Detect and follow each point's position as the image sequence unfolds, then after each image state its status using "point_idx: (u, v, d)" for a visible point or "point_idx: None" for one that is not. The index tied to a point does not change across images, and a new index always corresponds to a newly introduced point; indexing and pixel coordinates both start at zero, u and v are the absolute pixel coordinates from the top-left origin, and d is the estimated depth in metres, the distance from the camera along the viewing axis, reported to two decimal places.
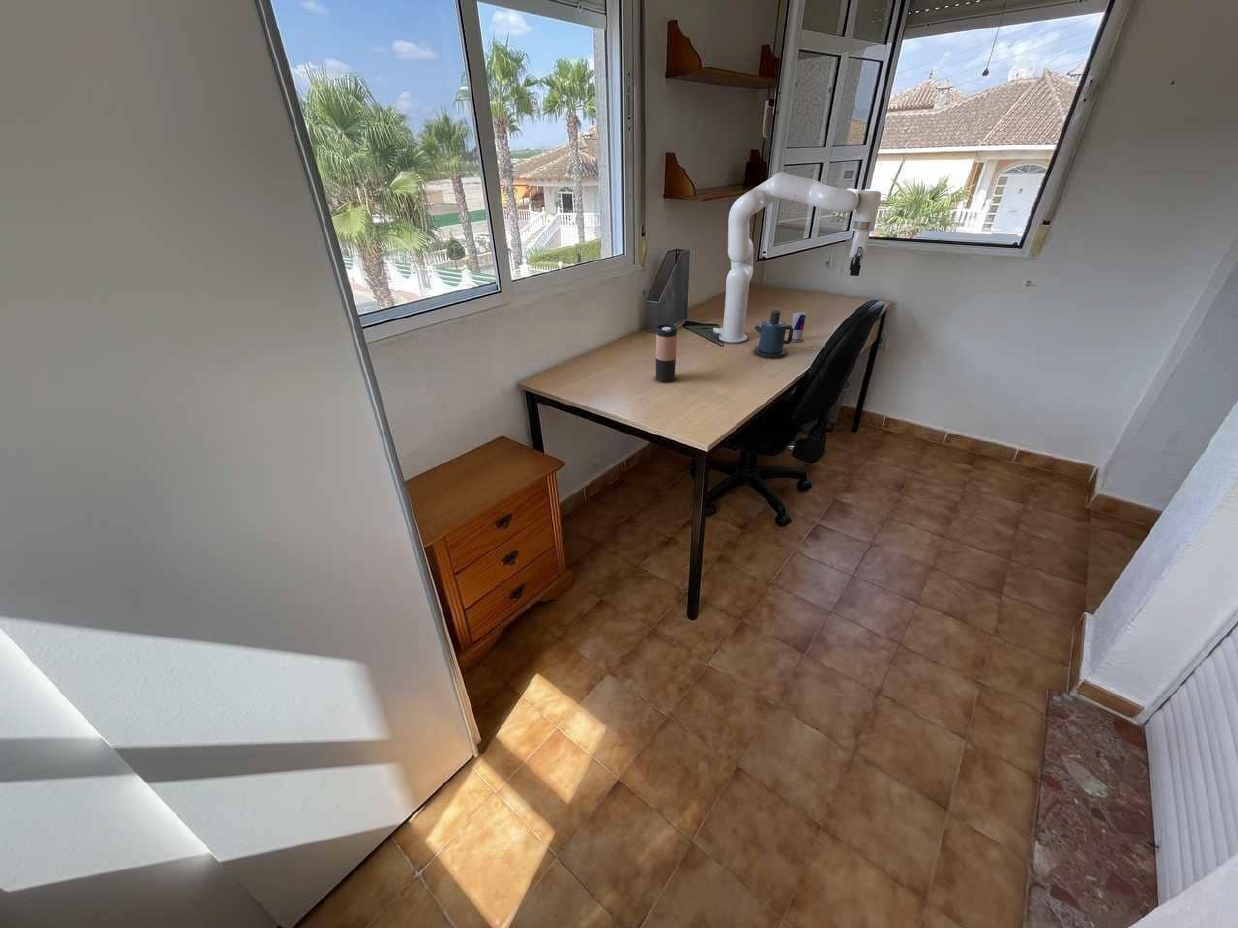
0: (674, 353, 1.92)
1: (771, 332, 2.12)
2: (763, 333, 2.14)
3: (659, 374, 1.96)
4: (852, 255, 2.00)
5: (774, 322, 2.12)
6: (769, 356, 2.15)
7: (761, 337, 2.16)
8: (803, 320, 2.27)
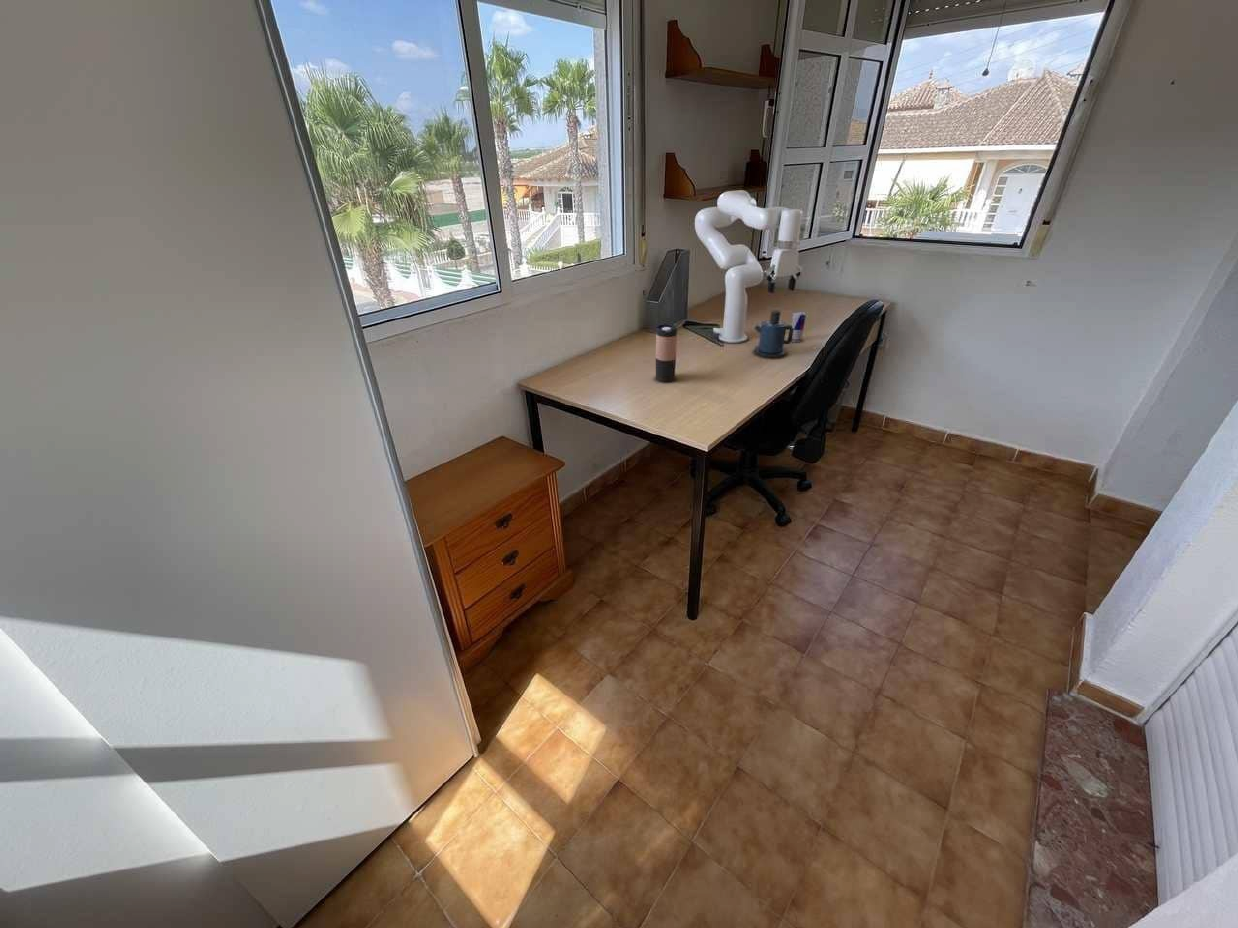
0: (674, 353, 1.92)
1: (771, 332, 2.12)
2: (763, 333, 2.14)
3: (659, 374, 1.96)
4: (769, 272, 2.04)
5: (774, 322, 2.12)
6: (769, 356, 2.15)
7: (761, 337, 2.16)
8: (803, 320, 2.27)
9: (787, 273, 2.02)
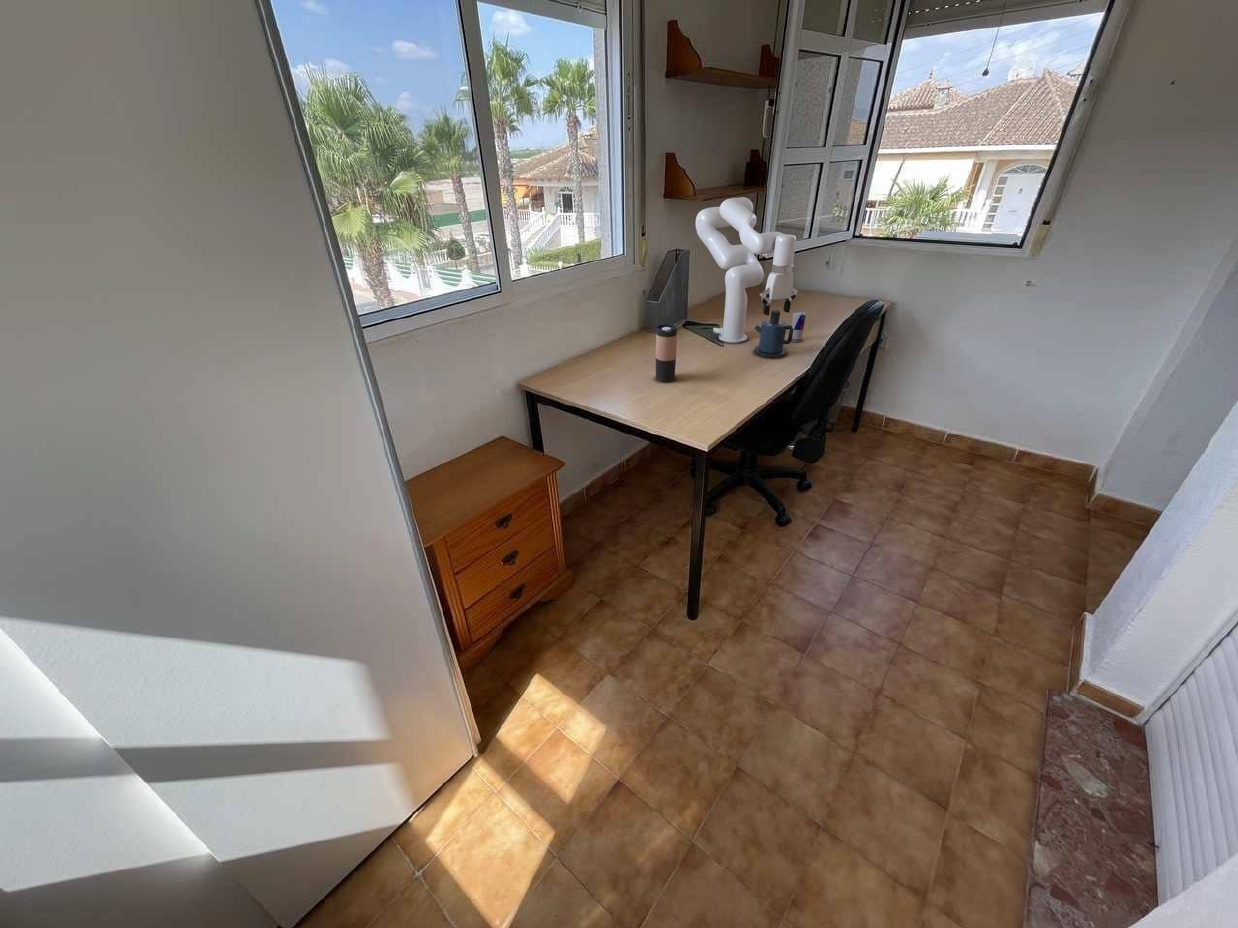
0: (674, 353, 1.92)
1: (771, 332, 2.12)
2: (763, 333, 2.14)
3: (659, 374, 1.96)
4: (765, 295, 2.08)
5: (774, 322, 2.12)
6: (769, 356, 2.15)
7: (761, 337, 2.16)
8: (803, 320, 2.27)
9: (782, 296, 2.06)
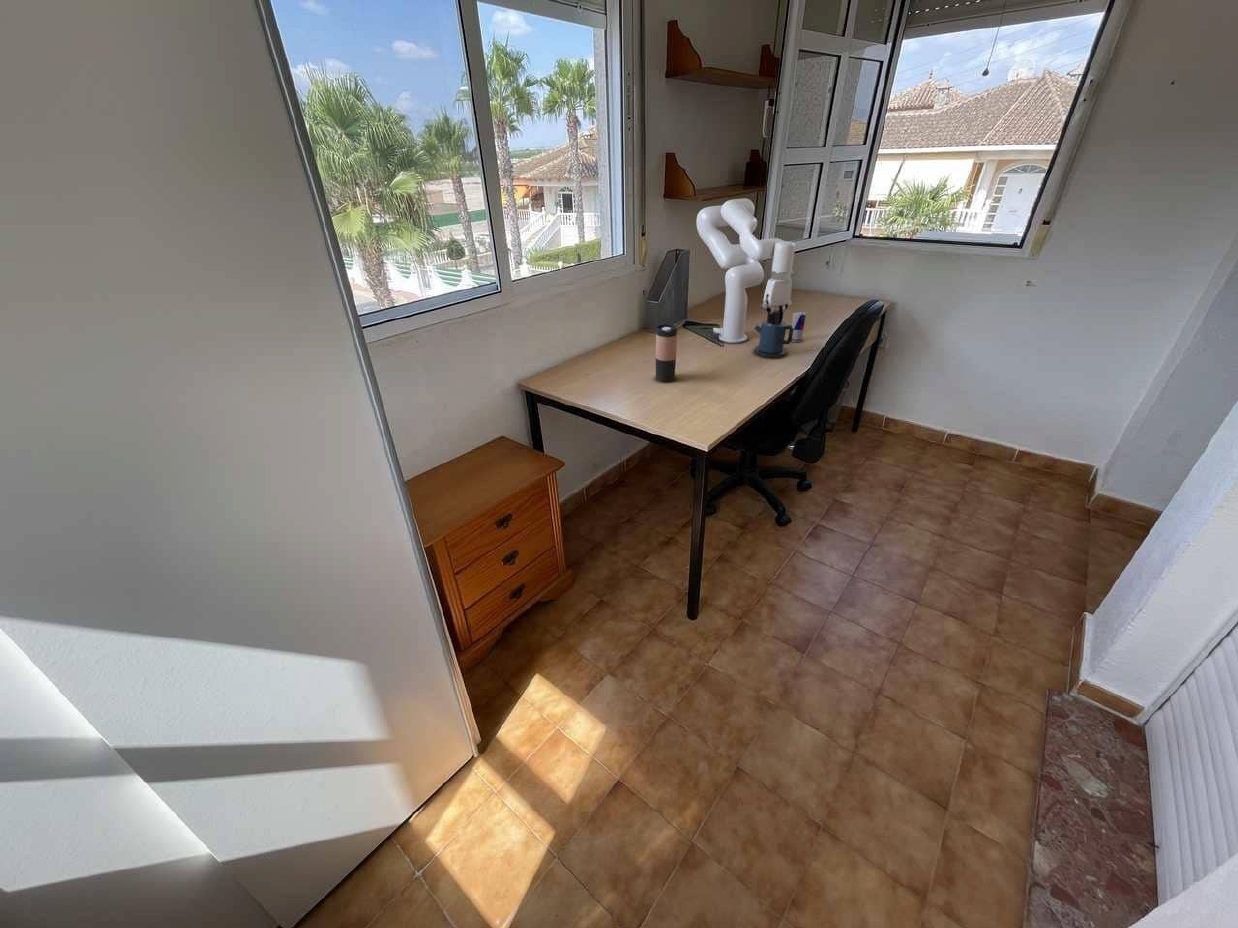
0: (674, 353, 1.92)
1: (771, 332, 2.12)
2: (763, 333, 2.14)
3: (659, 374, 1.96)
4: None
5: (774, 322, 2.12)
6: (769, 356, 2.15)
7: (761, 337, 2.16)
8: (803, 320, 2.27)
9: (781, 302, 2.08)
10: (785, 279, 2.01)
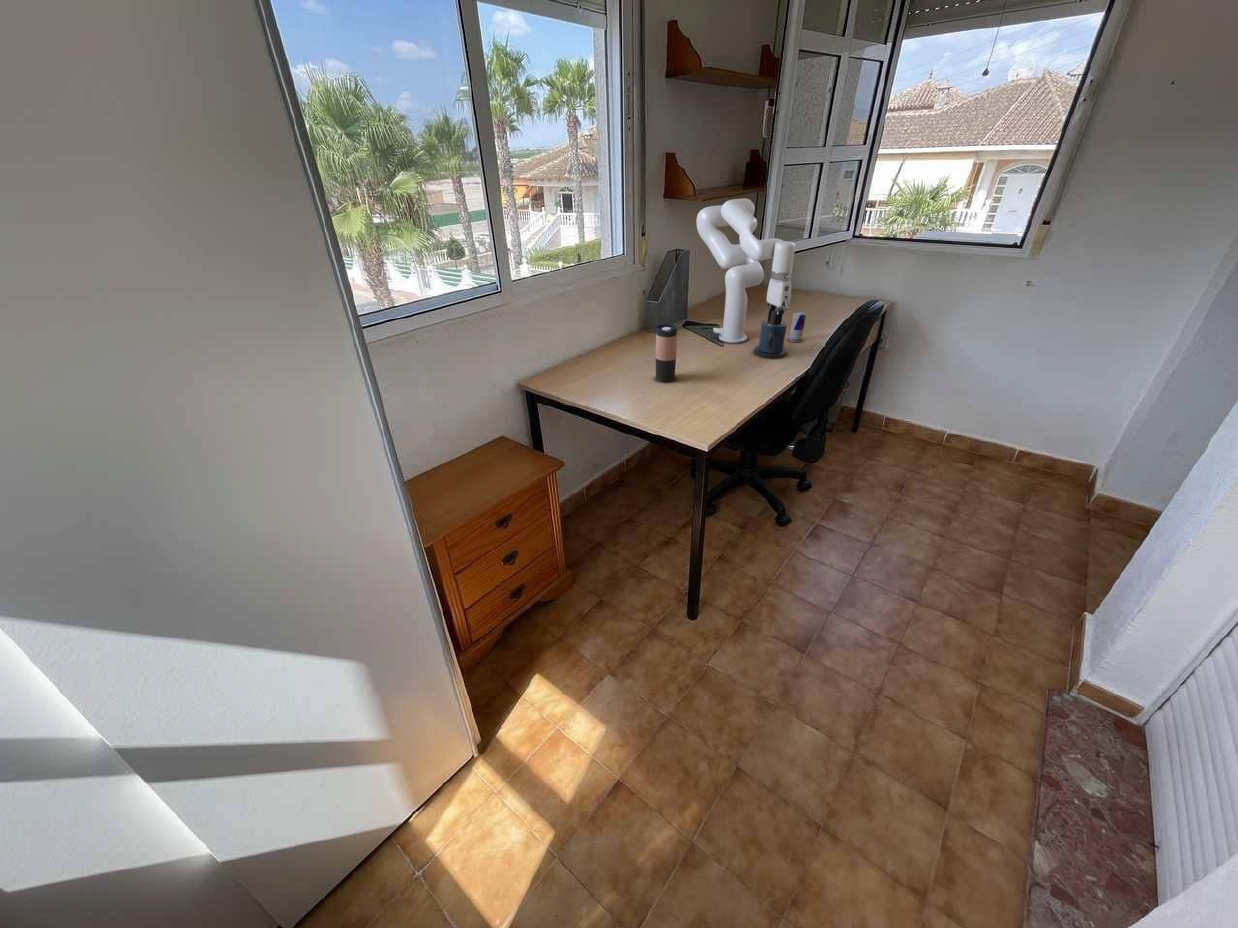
0: (674, 353, 1.92)
1: None
2: None
3: (659, 374, 1.96)
4: None
5: (769, 321, 2.14)
6: (769, 356, 2.15)
7: None
8: (803, 320, 2.27)
9: (773, 302, 2.09)
10: (772, 278, 2.04)
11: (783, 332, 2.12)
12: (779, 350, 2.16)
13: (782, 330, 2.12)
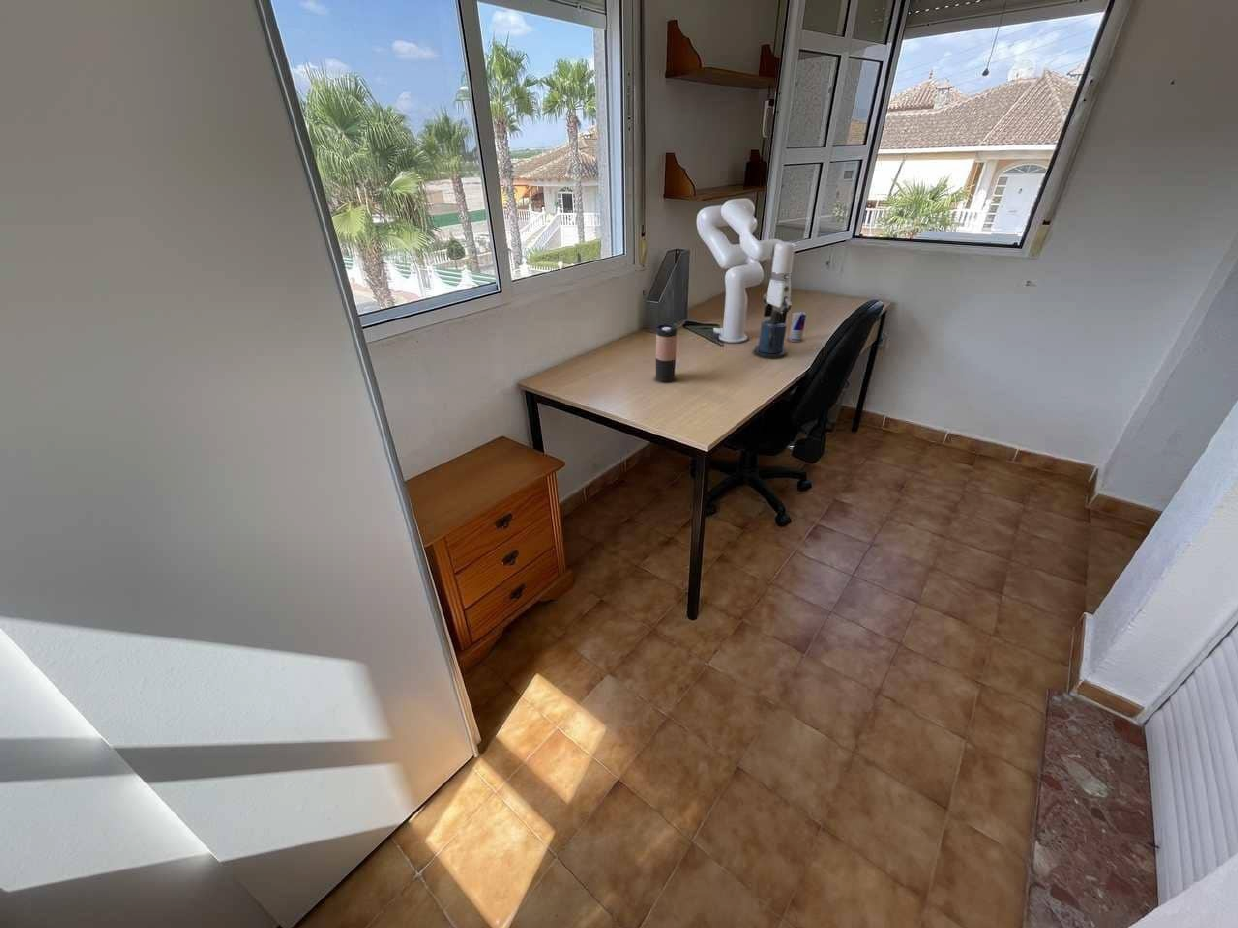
0: (674, 353, 1.92)
1: None
2: None
3: (659, 374, 1.96)
4: None
5: (769, 321, 2.14)
6: (769, 356, 2.15)
7: None
8: (803, 320, 2.27)
9: (773, 302, 2.09)
10: (771, 278, 2.04)
11: (783, 332, 2.12)
12: (779, 350, 2.16)
13: (782, 330, 2.11)
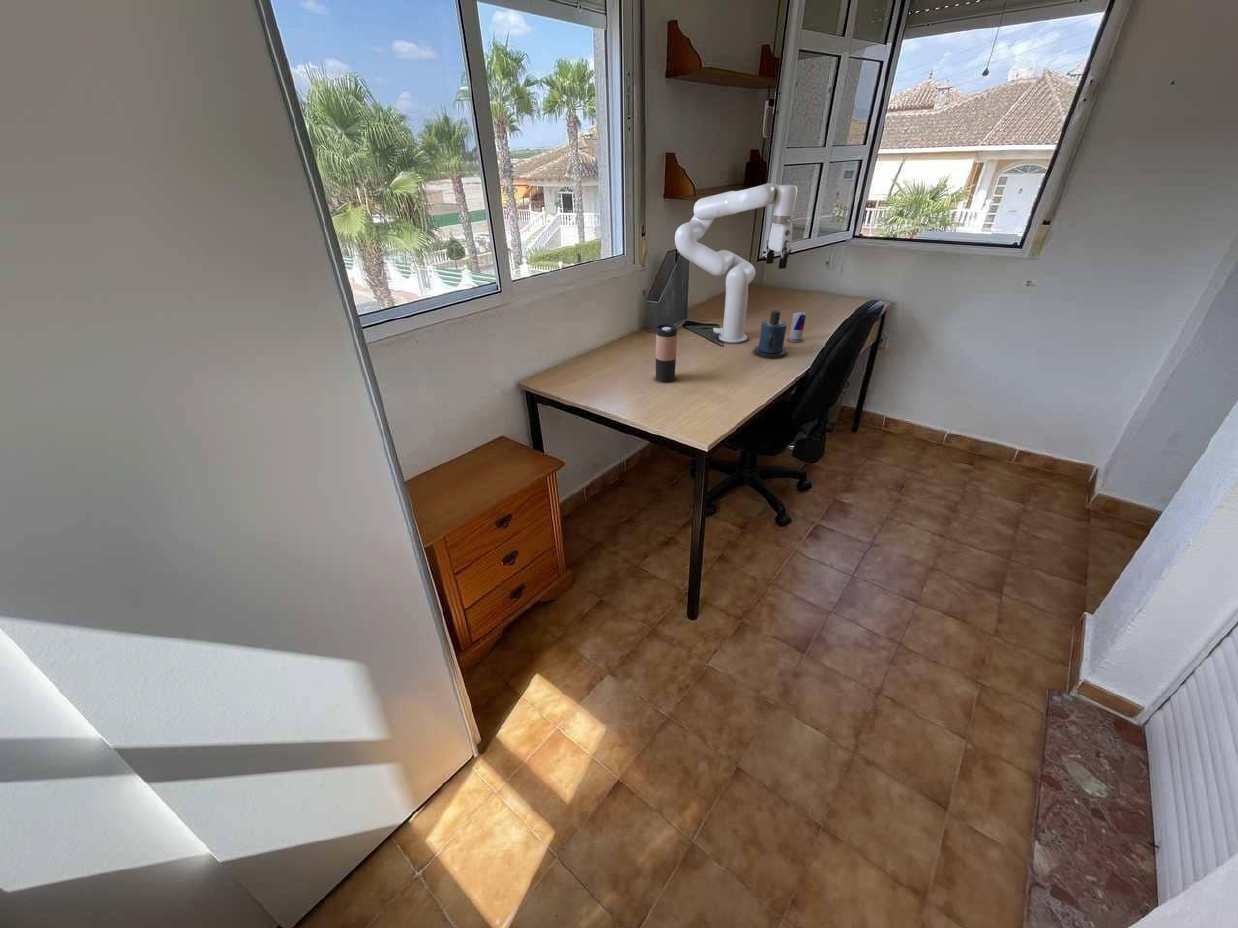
0: (674, 353, 1.92)
1: None
2: None
3: (659, 374, 1.96)
4: None
5: (769, 321, 2.14)
6: (769, 356, 2.15)
7: None
8: (803, 320, 2.27)
9: (774, 247, 2.10)
10: (773, 222, 2.05)
11: (783, 332, 2.12)
12: (779, 350, 2.16)
13: (782, 330, 2.11)
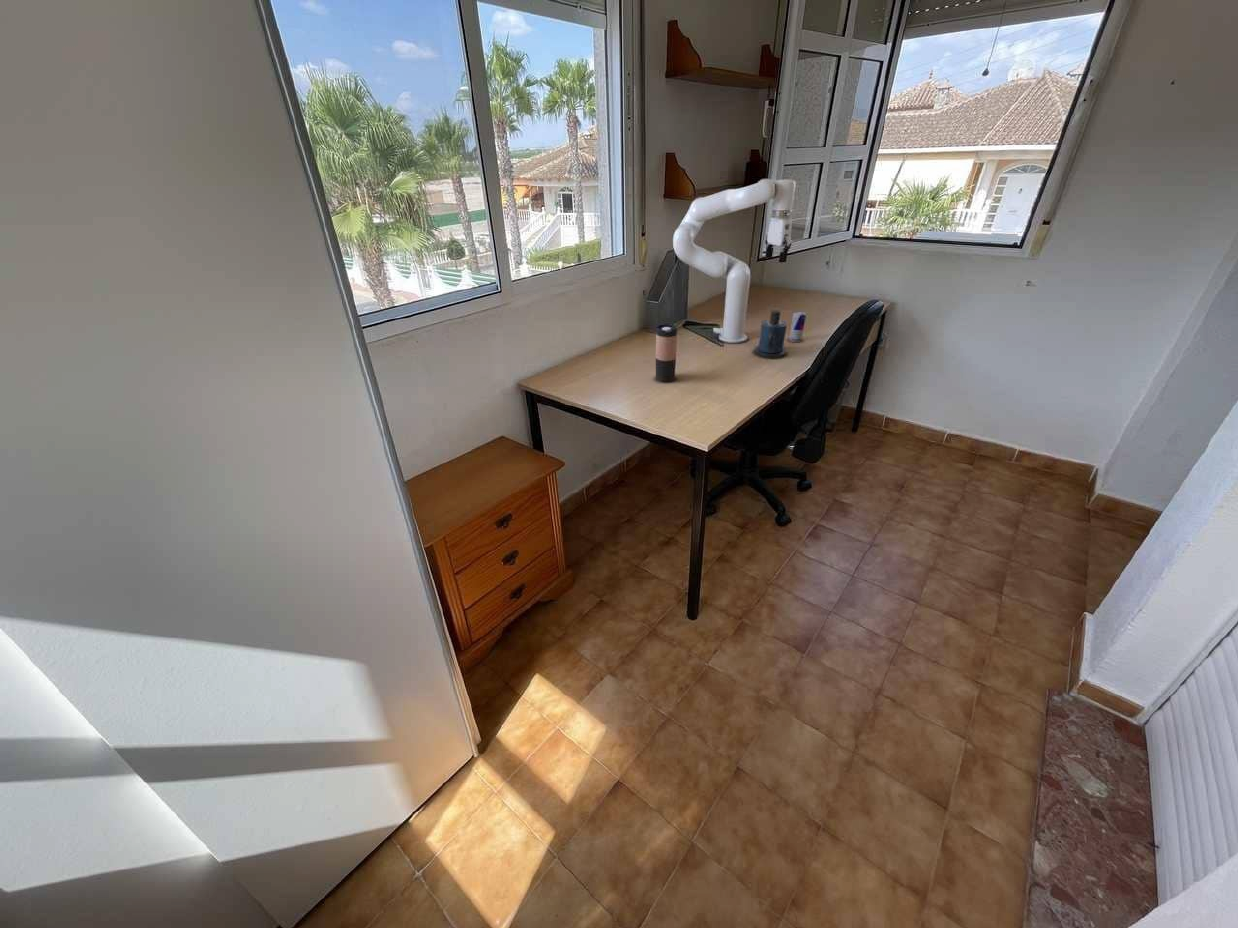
0: (674, 353, 1.92)
1: None
2: None
3: (659, 374, 1.96)
4: None
5: (769, 321, 2.14)
6: (769, 356, 2.15)
7: None
8: (803, 320, 2.27)
9: (773, 242, 2.12)
10: (772, 217, 2.07)
11: (783, 332, 2.12)
12: (779, 350, 2.16)
13: (782, 330, 2.11)
